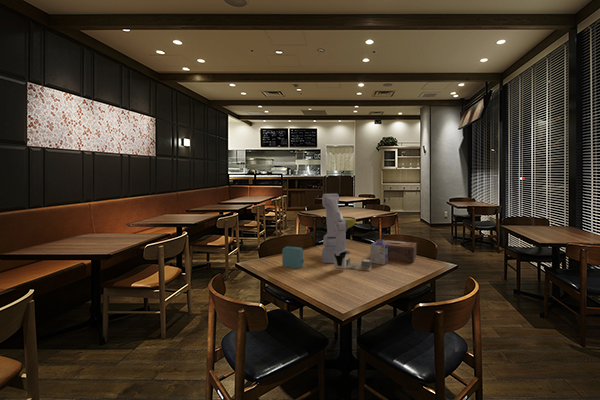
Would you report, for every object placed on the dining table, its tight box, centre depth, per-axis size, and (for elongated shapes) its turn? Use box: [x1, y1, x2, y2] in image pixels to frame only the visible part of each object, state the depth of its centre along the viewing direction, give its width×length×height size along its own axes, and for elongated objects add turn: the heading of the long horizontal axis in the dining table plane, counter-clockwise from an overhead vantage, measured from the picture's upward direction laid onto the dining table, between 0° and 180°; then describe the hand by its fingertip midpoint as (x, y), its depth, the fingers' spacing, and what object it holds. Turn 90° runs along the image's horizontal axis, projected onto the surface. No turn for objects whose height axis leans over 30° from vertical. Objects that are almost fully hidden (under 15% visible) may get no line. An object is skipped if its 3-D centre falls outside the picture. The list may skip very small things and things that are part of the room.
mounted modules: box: [345, 257, 372, 267], centre depth 186 cm, size 18×5×3 cm, turn 68°
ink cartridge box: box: [369, 239, 389, 266], centre depth 194 cm, size 10×6×14 cm, turn 56°
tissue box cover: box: [374, 239, 417, 263], centre depth 207 cm, size 26×14×10 cm, turn 63°
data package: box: [281, 245, 304, 270], centre depth 187 cm, size 12×4×12 cm, turn 69°
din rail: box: [346, 262, 373, 268], centre depth 186 cm, size 19×5×1 cm, turn 68°
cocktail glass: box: [334, 216, 357, 255], centre depth 220 cm, size 18×18×25 cm
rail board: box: [345, 264, 373, 272], centre depth 186 cm, size 19×9×1 cm, turn 68°
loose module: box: [334, 257, 347, 270], centre depth 180 cm, size 6×4×5 cm, turn 68°
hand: (340, 264), depth 180 cm, fingers closed on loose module, 4 cm apart
